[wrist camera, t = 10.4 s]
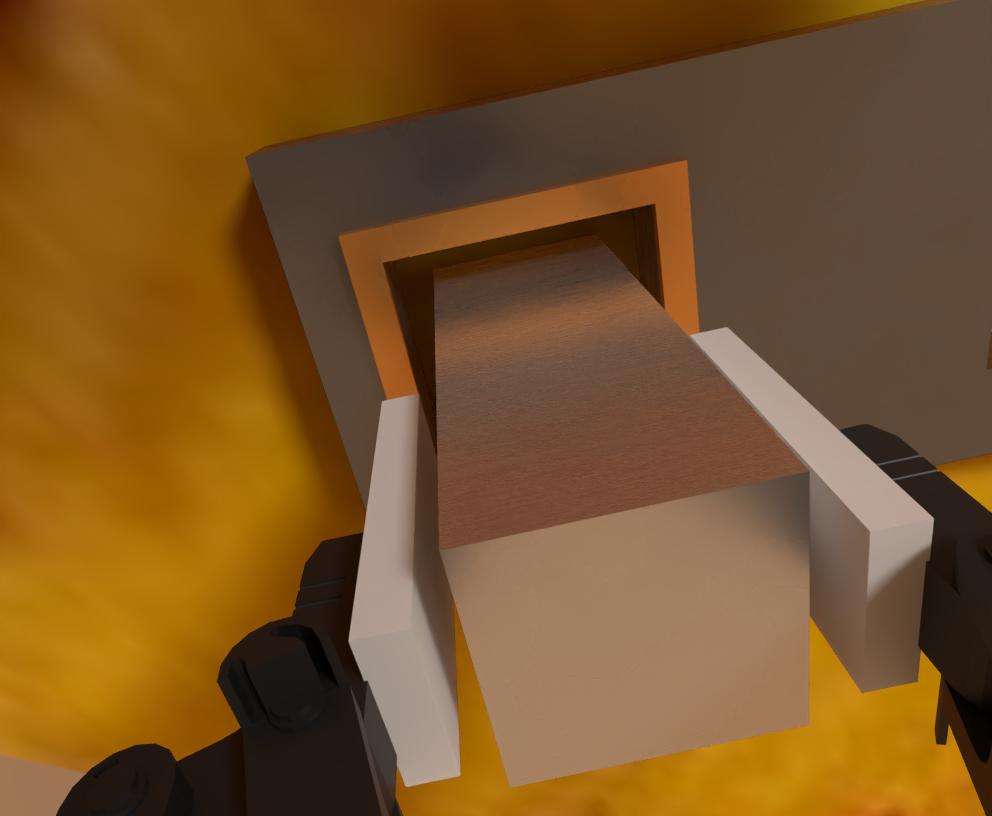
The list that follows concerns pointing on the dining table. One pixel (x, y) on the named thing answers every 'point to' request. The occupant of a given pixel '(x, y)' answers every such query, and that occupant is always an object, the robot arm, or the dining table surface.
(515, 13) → the dining table surface
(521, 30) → the dining table surface
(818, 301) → the grey peg board
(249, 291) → the dining table surface
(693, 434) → the peg
